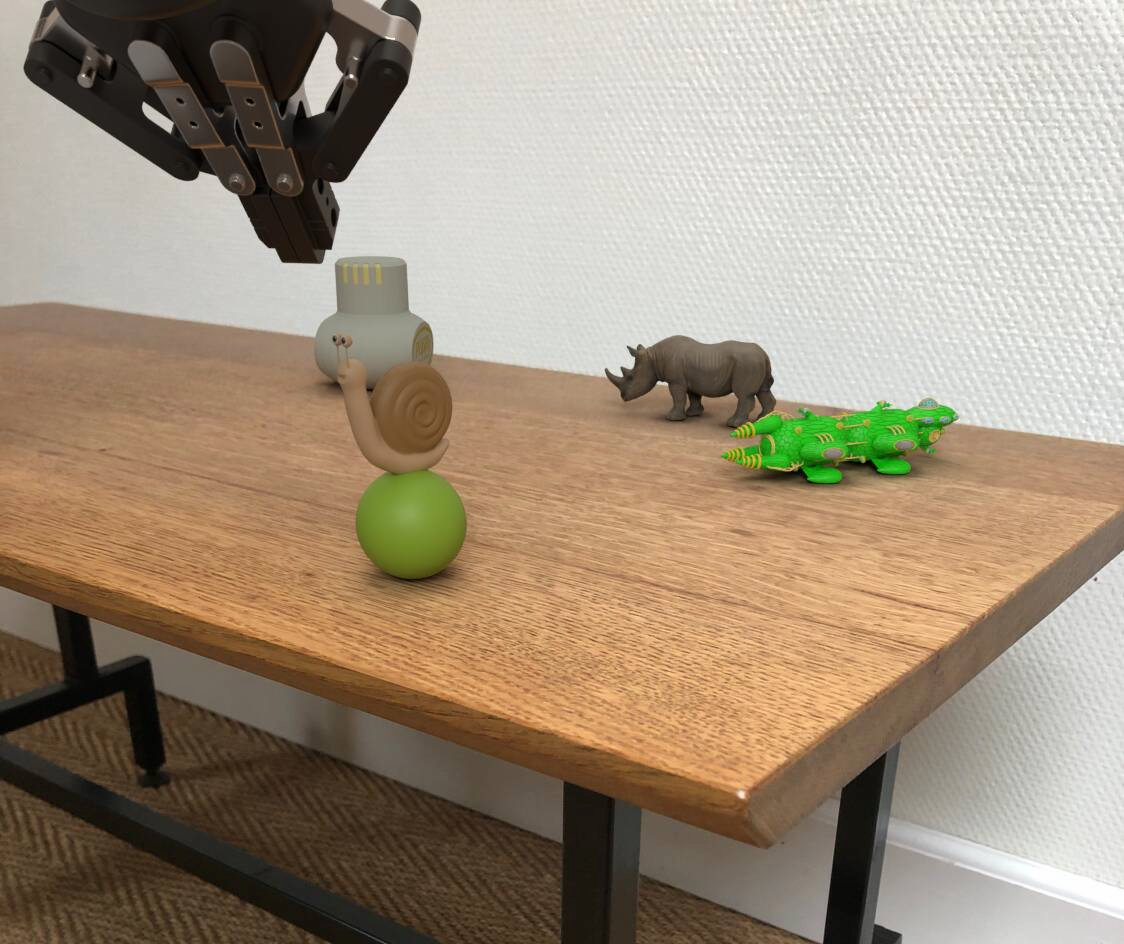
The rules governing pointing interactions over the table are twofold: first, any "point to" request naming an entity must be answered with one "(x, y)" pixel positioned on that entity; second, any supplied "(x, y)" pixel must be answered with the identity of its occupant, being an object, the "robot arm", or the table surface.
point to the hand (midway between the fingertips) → (307, 244)
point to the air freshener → (373, 319)
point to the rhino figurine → (701, 375)
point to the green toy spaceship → (842, 439)
